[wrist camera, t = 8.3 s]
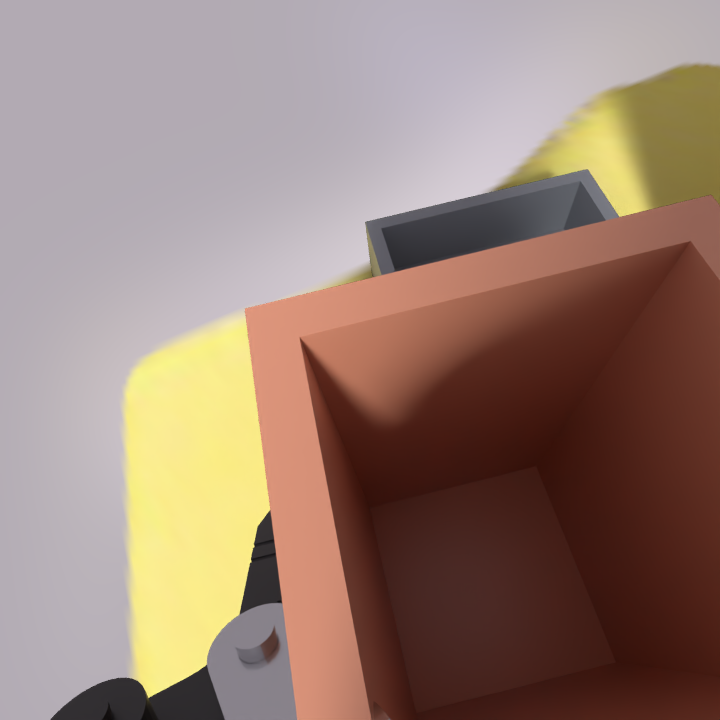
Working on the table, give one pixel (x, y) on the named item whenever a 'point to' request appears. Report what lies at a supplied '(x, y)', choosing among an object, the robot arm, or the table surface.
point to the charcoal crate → (485, 222)
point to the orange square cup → (503, 478)
